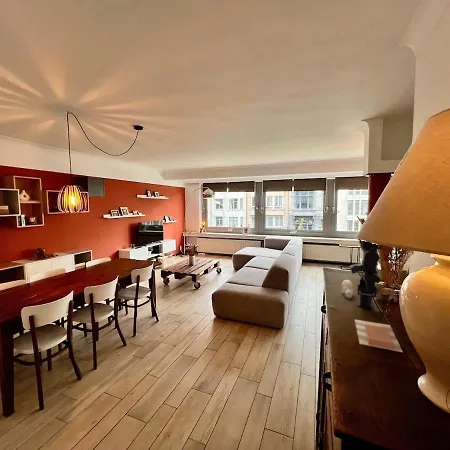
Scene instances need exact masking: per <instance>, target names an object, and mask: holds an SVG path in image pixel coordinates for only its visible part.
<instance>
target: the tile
mask: <svg viewBox="0 0 450 450" xmlns="http://www.w3.org/2000/svg"><path fill="white" fill-rule="evenodd" d="M365 333H366V337H367V341H368V344H369V345H374V346H379V347H384V348H389V349H393V341H392V339H391V337H390V334H389V332H388V330H387V328H382V327H376V326H371V325H365ZM384 348H383V349H384ZM389 349H388V350H389Z"/></svg>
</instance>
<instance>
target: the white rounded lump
mask: <svg viewBox="0 0 450 450" xmlns="http://www.w3.org/2000/svg"><path fill="white" fill-rule="evenodd" d="M353 286H354V284H353V282H352V281H351V280H349V279H344V280H343V281H342V282H341V294H342V293H344V296H345V297H346V298H347V299H350V298H351V299H352V297H353V293H354V288H353Z"/></svg>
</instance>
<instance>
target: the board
mask: <svg viewBox="0 0 450 450" xmlns="http://www.w3.org/2000/svg"><path fill="white" fill-rule="evenodd" d="M354 323H355V328H356V333H357V337H358V342H359V345H365V346H369V347H374V348H379V349H385V350H389V351H395V352H400V353H403V350H402V348H401V345H400V343H399V341H398V339H397V338H396V337H397V336H396V335H395V332H394V331H393V328H392V327H391V325H390V324H385V323H377V322H372V321H367V320H362V319H361V320H359V319H354ZM365 325H371V326H376V327H382V328H387V330H388V332H389V334H390V337H391V339H392V341H393V349H389V348H384V347H379V346H374V345H369V344H368V341H367V337H366V333H365Z"/></svg>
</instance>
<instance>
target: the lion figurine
mask: <svg viewBox="0 0 450 450" xmlns="http://www.w3.org/2000/svg"><path fill="white" fill-rule="evenodd" d="M375 286H376V288H377V297H376V299H377V300H380V298H381V295H389V296H390V297H389V298H388V299H387V300H391V299H394V300H393V302H394V303H397V302H399V300H400V299H399V298H398V296H397V292H396V291H395V290H394V289H393V288H385V287H383V286H382V285H380V284H378V282H376V283H375Z"/></svg>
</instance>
